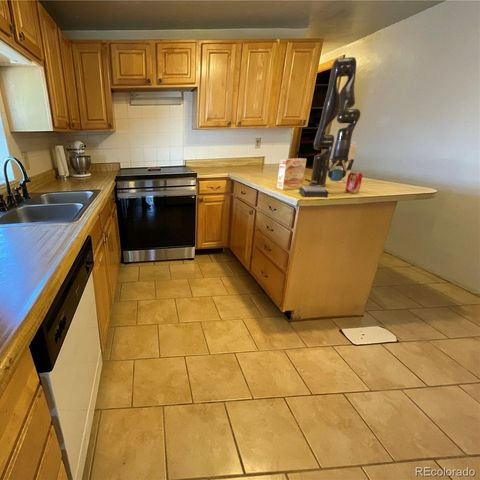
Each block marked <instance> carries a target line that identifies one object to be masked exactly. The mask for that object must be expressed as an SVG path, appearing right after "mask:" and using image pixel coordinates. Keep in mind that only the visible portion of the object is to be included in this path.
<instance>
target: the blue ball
mask: <svg viewBox="0 0 480 480" xmlns="http://www.w3.org/2000/svg"><path fill="white" fill-rule="evenodd" d="M343 173H344V170H341V169H339V168H338V169H337V168H333V170H332V174H331V178H329V181H331V182H338V181H341V180H342V177H343Z"/></svg>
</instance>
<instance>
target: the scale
mask: <svg viewBox="0 0 480 480" xmlns="http://www.w3.org/2000/svg"><path fill="white" fill-rule="evenodd" d="M299 193H300V194H301V196H303V198H328V195H329V194H330V193H329V191H328V190H327V189H326V190H325V191H305V190H304V189H303V187H302V188H300V189H299Z"/></svg>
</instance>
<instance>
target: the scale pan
mask: <svg viewBox="0 0 480 480" xmlns="http://www.w3.org/2000/svg"><path fill="white" fill-rule="evenodd" d="M302 188H303V189H304V190H305V191H325V190H327V189H326V188H325V187H323V186H311V185H307V186H306V185H305V186H304V185H302Z"/></svg>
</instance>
